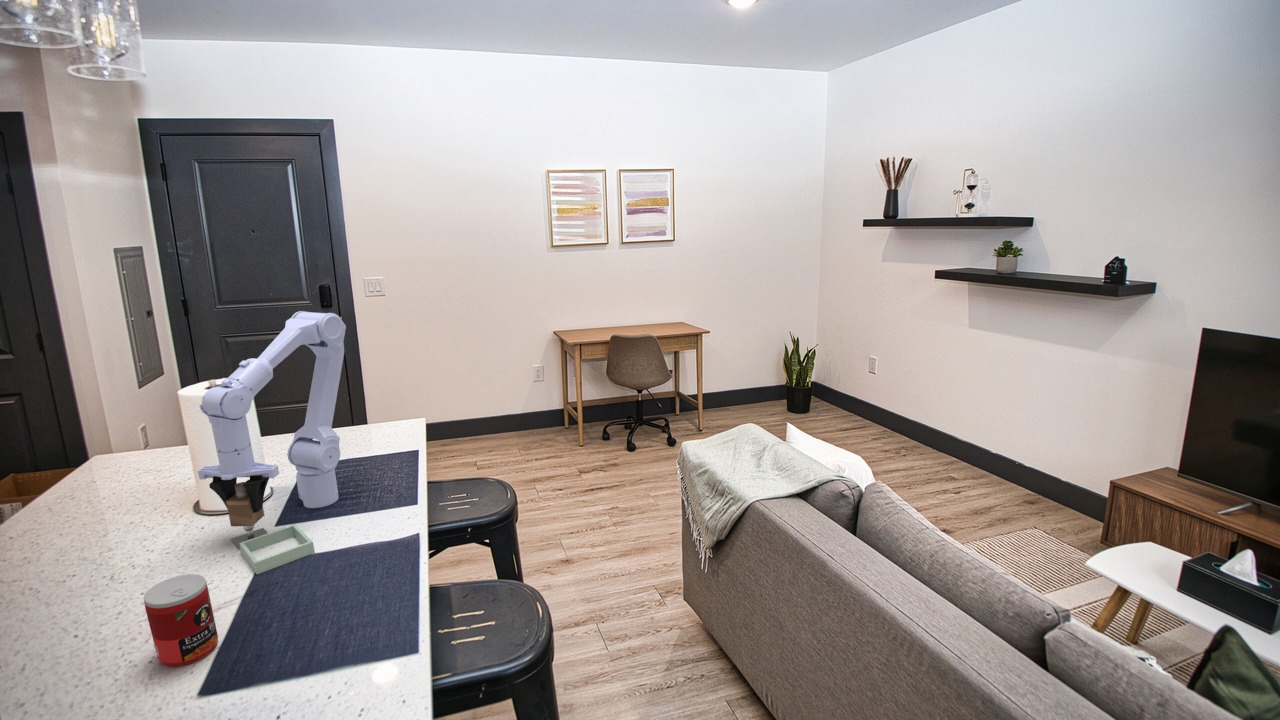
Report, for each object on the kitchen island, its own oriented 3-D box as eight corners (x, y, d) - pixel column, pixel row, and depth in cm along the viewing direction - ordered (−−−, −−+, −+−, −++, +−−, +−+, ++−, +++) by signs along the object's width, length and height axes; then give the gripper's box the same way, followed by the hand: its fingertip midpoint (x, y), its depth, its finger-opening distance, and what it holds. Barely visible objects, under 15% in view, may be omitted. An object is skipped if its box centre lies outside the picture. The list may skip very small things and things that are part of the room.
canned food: (191, 671, 93) (176, 606, 90) (144, 665, 94) (128, 601, 91) (231, 636, 100) (219, 575, 97) (187, 631, 101) (174, 571, 99)
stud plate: (231, 544, 127) (226, 521, 126) (264, 532, 131) (260, 511, 130) (239, 555, 123) (234, 532, 122) (273, 543, 127) (269, 521, 126)
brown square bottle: (243, 515, 128) (236, 479, 126) (264, 515, 128) (257, 479, 126) (231, 526, 124) (223, 489, 122) (252, 526, 124) (245, 489, 122)
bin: (242, 559, 122) (239, 543, 121) (297, 539, 129) (295, 523, 128) (257, 580, 115) (254, 563, 114) (315, 557, 122) (312, 541, 121)
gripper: (182, 455, 118) (196, 520, 121) (259, 454, 118) (271, 519, 121) (206, 441, 125) (219, 503, 128) (280, 440, 125) (290, 502, 128)
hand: (246, 510), depth 125 cm, fingers closed on brown square bottle, 4 cm apart
